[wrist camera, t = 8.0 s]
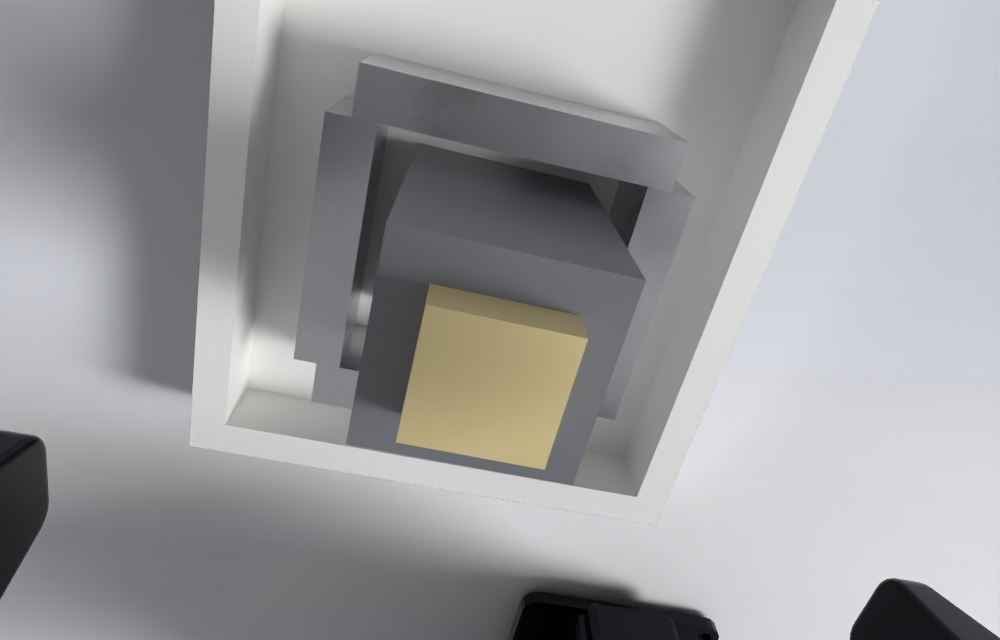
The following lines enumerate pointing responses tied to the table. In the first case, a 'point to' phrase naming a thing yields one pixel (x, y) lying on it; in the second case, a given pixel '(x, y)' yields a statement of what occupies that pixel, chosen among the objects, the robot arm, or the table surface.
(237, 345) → the walled tray
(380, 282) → the block
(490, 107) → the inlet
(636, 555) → the table surface
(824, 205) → the table surface
